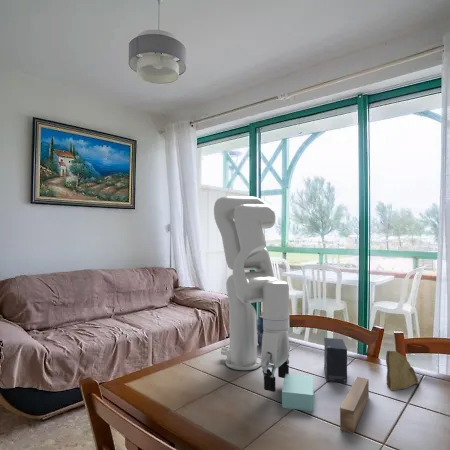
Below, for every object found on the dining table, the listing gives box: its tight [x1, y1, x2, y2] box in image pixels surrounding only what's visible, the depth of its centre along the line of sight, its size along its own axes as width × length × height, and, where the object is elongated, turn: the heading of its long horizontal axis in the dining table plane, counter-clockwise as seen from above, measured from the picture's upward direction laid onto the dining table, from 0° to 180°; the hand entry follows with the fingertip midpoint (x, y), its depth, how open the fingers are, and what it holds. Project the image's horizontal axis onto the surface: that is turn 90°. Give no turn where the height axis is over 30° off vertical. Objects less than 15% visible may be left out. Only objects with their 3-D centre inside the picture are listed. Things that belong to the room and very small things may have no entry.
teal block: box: [281, 373, 315, 412], centre depth 97 cm, size 8×12×4 cm, turn 166°
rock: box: [385, 350, 420, 392], centre depth 104 cm, size 11×9×10 cm
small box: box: [323, 337, 348, 384], centre depth 111 cm, size 11×6×10 cm, turn 168°
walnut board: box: [339, 376, 370, 434], centre depth 89 cm, size 3×20×5 cm, turn 149°
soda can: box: [257, 314, 264, 349], centre depth 140 cm, size 7×7×12 cm
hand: (276, 383), depth 100 cm, fingers open, 9 cm apart
